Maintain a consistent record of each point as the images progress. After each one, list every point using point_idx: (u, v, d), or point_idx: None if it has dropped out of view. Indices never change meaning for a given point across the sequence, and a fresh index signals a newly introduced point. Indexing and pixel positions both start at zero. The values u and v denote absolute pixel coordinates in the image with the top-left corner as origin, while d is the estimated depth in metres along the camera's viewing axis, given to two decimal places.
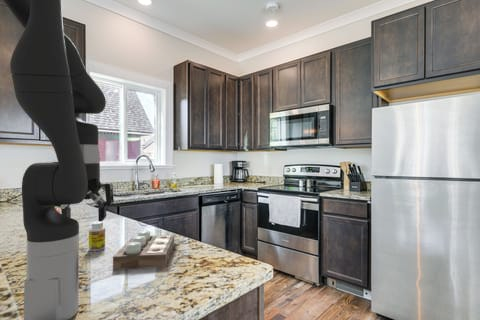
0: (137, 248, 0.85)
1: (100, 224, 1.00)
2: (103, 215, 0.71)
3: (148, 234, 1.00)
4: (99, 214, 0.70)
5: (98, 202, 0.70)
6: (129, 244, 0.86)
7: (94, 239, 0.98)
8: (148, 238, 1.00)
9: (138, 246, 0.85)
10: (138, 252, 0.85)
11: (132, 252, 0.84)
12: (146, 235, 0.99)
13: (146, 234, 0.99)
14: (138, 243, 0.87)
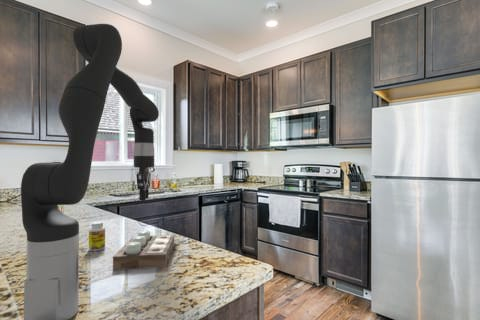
0: (137, 248, 0.85)
1: (100, 224, 1.00)
2: (147, 194, 1.04)
3: (148, 234, 1.00)
4: None
5: (148, 184, 1.04)
6: (129, 244, 0.86)
7: (94, 239, 0.98)
8: (148, 238, 1.00)
9: (138, 246, 0.85)
10: (138, 252, 0.85)
11: (132, 252, 0.84)
12: (146, 235, 0.99)
13: (146, 234, 0.99)
14: (138, 243, 0.87)
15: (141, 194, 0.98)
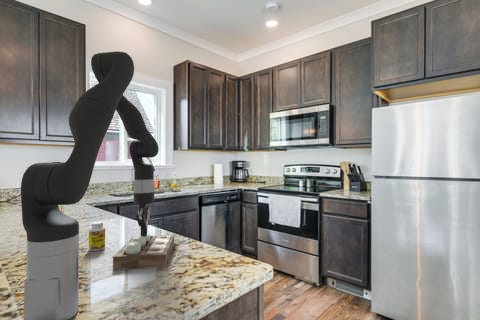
0: (137, 248, 0.85)
1: (100, 224, 1.00)
2: None
3: (148, 238, 1.00)
4: None
5: (147, 221, 1.02)
6: (129, 244, 0.86)
7: (94, 239, 0.98)
8: None
9: (138, 246, 0.85)
10: (138, 252, 0.85)
11: (132, 252, 0.84)
12: (146, 239, 0.99)
13: (146, 238, 0.99)
14: (138, 243, 0.87)
15: (142, 230, 1.00)
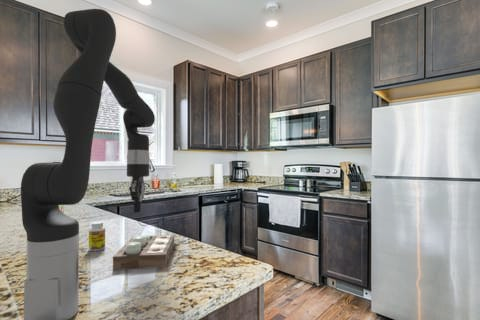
0: (137, 248, 0.85)
1: (100, 224, 1.00)
2: None
3: (148, 239, 1.00)
4: None
5: (141, 196, 0.94)
6: (129, 244, 0.86)
7: (94, 239, 0.98)
8: None
9: (138, 246, 0.85)
10: (138, 252, 0.85)
11: (132, 252, 0.84)
12: (146, 240, 0.99)
13: (146, 239, 0.99)
14: (138, 243, 0.87)
15: (136, 206, 0.91)
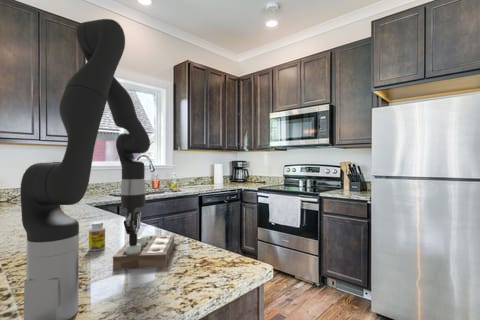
0: (137, 249, 0.85)
1: (100, 224, 1.00)
2: None
3: (148, 239, 1.00)
4: None
5: (137, 227, 0.87)
6: (129, 245, 0.86)
7: (94, 239, 0.98)
8: None
9: (138, 247, 0.85)
10: None
11: None
12: (146, 240, 0.99)
13: (146, 239, 0.99)
14: (138, 244, 0.87)
15: (131, 239, 0.85)
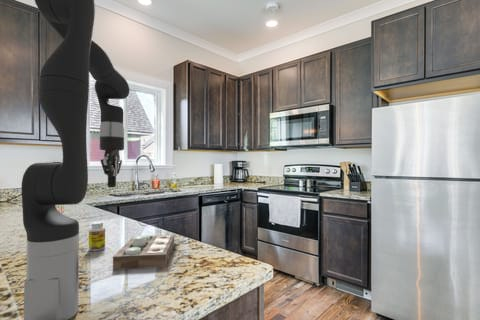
0: (137, 253, 0.85)
1: (100, 224, 1.00)
2: None
3: (148, 239, 1.00)
4: (115, 181, 0.90)
5: (116, 170, 0.90)
6: (129, 249, 0.86)
7: (94, 239, 0.98)
8: None
9: (138, 251, 0.85)
10: None
11: None
12: (146, 240, 0.99)
13: (146, 239, 0.99)
14: (138, 248, 0.87)
15: (109, 180, 0.88)
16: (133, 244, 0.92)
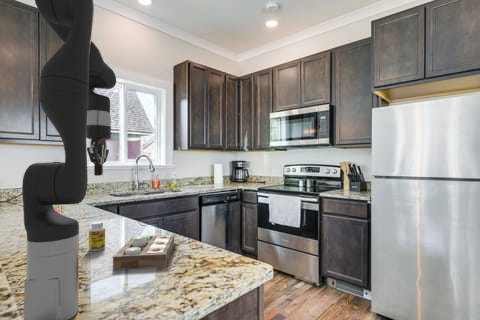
0: (137, 253, 0.85)
1: (100, 224, 1.00)
2: None
3: (148, 239, 1.00)
4: (102, 169, 0.91)
5: (103, 159, 0.91)
6: (129, 249, 0.86)
7: (94, 239, 0.98)
8: None
9: (138, 251, 0.85)
10: None
11: None
12: (146, 240, 0.99)
13: (146, 239, 0.99)
14: (138, 248, 0.87)
15: (96, 168, 0.89)
16: (133, 244, 0.92)
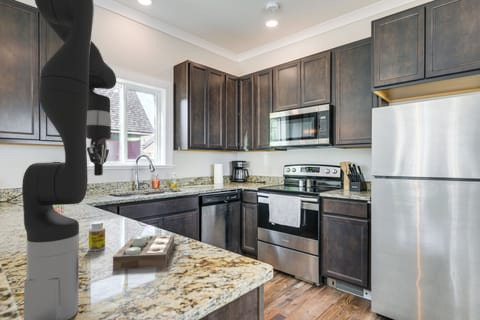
0: (137, 253, 0.85)
1: (100, 224, 1.00)
2: None
3: (148, 239, 1.00)
4: (102, 169, 0.91)
5: (103, 159, 0.91)
6: (129, 249, 0.86)
7: (94, 239, 0.98)
8: None
9: (138, 251, 0.85)
10: None
11: None
12: (146, 240, 0.99)
13: (146, 239, 0.99)
14: (138, 248, 0.87)
15: (96, 168, 0.89)
16: (133, 244, 0.92)
